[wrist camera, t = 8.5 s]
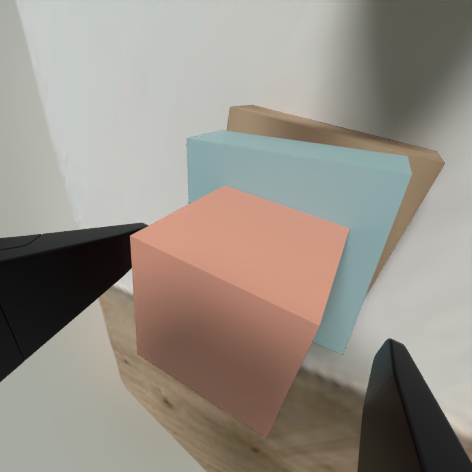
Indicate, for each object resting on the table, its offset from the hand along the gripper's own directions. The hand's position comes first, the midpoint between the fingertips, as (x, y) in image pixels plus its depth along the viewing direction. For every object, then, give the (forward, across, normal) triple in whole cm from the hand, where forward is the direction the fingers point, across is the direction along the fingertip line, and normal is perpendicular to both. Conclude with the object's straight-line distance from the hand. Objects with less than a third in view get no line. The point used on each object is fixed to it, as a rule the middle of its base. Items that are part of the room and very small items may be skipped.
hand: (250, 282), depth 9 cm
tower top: (+5, 0, 0) cm, 5 cm away
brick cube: (+2, 0, 0) cm, 2 cm away
